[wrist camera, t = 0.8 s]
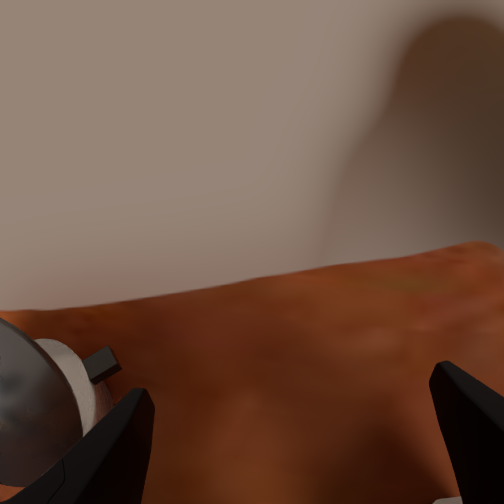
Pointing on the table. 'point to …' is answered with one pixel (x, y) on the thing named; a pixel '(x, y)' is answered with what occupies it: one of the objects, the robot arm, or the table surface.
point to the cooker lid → (32, 409)
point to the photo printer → (449, 501)
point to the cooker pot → (86, 379)
